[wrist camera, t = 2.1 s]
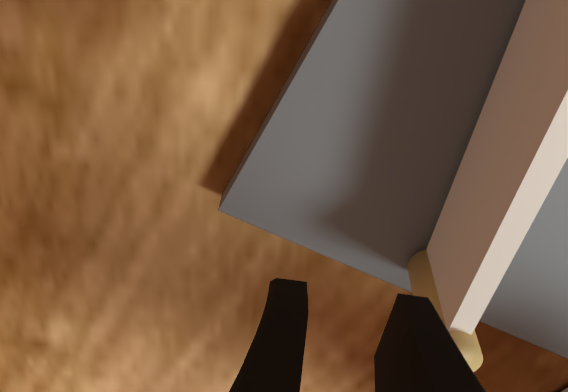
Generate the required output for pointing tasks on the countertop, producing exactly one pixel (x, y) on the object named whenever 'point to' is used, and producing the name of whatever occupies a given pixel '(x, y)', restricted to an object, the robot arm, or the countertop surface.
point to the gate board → (397, 150)
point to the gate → (500, 176)
